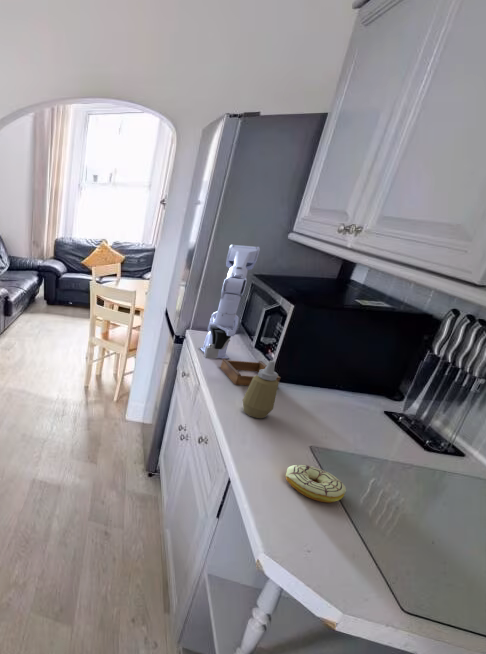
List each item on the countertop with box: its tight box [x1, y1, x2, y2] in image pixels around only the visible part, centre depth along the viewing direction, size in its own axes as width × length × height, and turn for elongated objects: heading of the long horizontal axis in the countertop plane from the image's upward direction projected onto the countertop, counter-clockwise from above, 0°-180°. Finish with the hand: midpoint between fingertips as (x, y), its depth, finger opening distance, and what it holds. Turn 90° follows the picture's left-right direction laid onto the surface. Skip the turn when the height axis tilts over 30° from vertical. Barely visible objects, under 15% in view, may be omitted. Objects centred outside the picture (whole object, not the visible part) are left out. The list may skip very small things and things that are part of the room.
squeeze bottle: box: [242, 360, 280, 419], centre depth 118 cm, size 8×8×18 cm
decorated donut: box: [285, 464, 347, 503], centre depth 92 cm, size 10×11×4 cm
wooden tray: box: [219, 358, 281, 387], centre depth 143 cm, size 14×14×4 cm
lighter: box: [203, 338, 231, 360], centre depth 143 cm, size 7×2×8 cm, turn 82°
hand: (216, 347), depth 143 cm, fingers closed on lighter, 2 cm apart
